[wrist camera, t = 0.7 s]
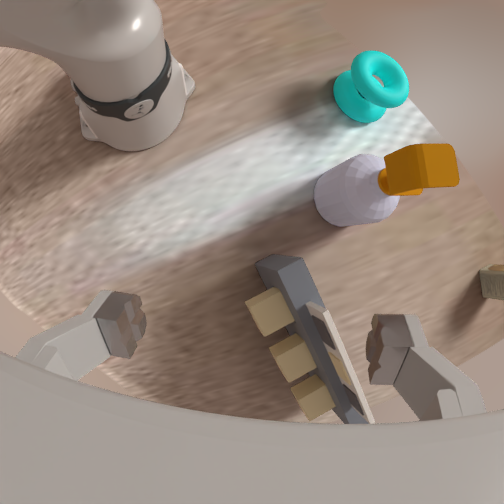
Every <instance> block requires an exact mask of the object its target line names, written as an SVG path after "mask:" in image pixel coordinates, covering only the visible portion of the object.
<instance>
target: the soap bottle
mask: <svg viewBox="0 0 504 504" xmlns="http://www.w3.org/2000/svg"><path fill="white" fill-rule="evenodd" d="M459 180H460V179H459V173H458V167H457V161H456V156H455V151H454V149H453V147H452V146H451V145H450V144H414V145H409V146H406V147H404V148H402V149H399V150H397V151H395V152H393V153H391V154H388V155H386V156H385V157H384V160H383V159H382V158H379V157H377V156H374V155H370V154H359V155H357V156H354V157H352V158H350V159H348V160H346V161H345V162H343V163H341V164H339V165H337V166H336V167H334V168H332V169H330V170H328V171H327V172H325V173H324V174H323V175H322V176H321V177H320V178H319V179H318V181H317V183H316V186H315V188H314V201H315V204H316V208H317V210H318V212H319V213H320V215H321V216H322V218H324V219H325V220H326V221H328V222H329V223H330V224H333V225H336V226H339V227H342V226H352V225H360V224H368V223H376V222H380V221H382V220H384V219H386V218H388V217H389V216H390V214H391V213H392V212H393V211H394V209H395V208H396V207H397V204H398V201H399V198H400V196H405V195H420V194H421V193H422V191H423V188H435V187H455V186H457V185H458V184H459Z"/></svg>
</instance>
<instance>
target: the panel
mask: <svg viewBox="0 0 504 504" xmlns="http://www.w3.org/2000/svg"><path fill="white" fill-rule="evenodd" d="M255 266H256V268H257V270H258V272H259V274H260V276H261V278H262V280H263V282H264V284H265V286H266V288H267V290H268V289H270V288H272V287H276V288H278V289H280V291H281V293H282V295H283V297H284V299H285V301H286V304H287V306H288V308H289V310H290V312H291V314H292V316H293V318H294V320H295V321H294V322H292V323H290V324H288V325H286V326H285V327H286V329H287V331H288V333H289V335H290V336H291V335H293V334H295V333H296V334H298V335H299V336H300V337H301V338H302V339H303V340H304V341H305V343H306V345H307V347H308V349H309V351H310V353H311V355H312V358H313V360H314V362H315V364H316V366H317V368H315V369H313V370H311V371H310V372H308V373H309V375H310V377H311V376H313V375H314V374H316V375H317V376H318V377H319V378H320V379H321V380H322V381H323V382H324V383H325V385H326V387H327V389H328V391H329V393H330V395H331V397H332V399H333V402H334V404H335V406H336V407H334V408H332V410H333V411H334V412H335V413H336V414H337V415H338V417H339V418H340V419H341V420H342V421H343V422H344V424H373V423H375V420H374V418H373V415H372V413H371V411H370V408H369V405H368V403H367V400H366V398H365V395H364V393H363V390H362V388H361V386H360V383H359V381H358V378H357V376H356V373H355V371H354V369H353V366H352V364H351V361H350V359H349V357H348V354H347V352H346V350H345V347H344V345H343V343H342V340H341V338H340V336H339V333H338V331H337V329H336V326H335V324H334V322H333V320H332V317H331V315H330V313H329V310H328V309H326V308H325V306H324V304H323V301H322V299H321V297H320V295H319V293H318V290H317V288H316V286H315V284H314V282H313V279H312V277H311V275H310V273H309V271H308V268H307V266H306V264H305V262H304V260H303V258H301V257H292V256H284V255H275V254H272V255H270V256H268V257H266V258H264V259H262V260H260V261H258V262H257V263H255Z"/></svg>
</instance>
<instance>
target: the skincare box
mask: <svg viewBox="0 0 504 504" xmlns="http://www.w3.org/2000/svg"><path fill="white" fill-rule="evenodd" d="M479 273H480V280H481V288H482V295H483V297H484V298H491V299H498V300H504V265H495V264H490V265H488V266H486V267H484V268H482V269H480V270H479Z"/></svg>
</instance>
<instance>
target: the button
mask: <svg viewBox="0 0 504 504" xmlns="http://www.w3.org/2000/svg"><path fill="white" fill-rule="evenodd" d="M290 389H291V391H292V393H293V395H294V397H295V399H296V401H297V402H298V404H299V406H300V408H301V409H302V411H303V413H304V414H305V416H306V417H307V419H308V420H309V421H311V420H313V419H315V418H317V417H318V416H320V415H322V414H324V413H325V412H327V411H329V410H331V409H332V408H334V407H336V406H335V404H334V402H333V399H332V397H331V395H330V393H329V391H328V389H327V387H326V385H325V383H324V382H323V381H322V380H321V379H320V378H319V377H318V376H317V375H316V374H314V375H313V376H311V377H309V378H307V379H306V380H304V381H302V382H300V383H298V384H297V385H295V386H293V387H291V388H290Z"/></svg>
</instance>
